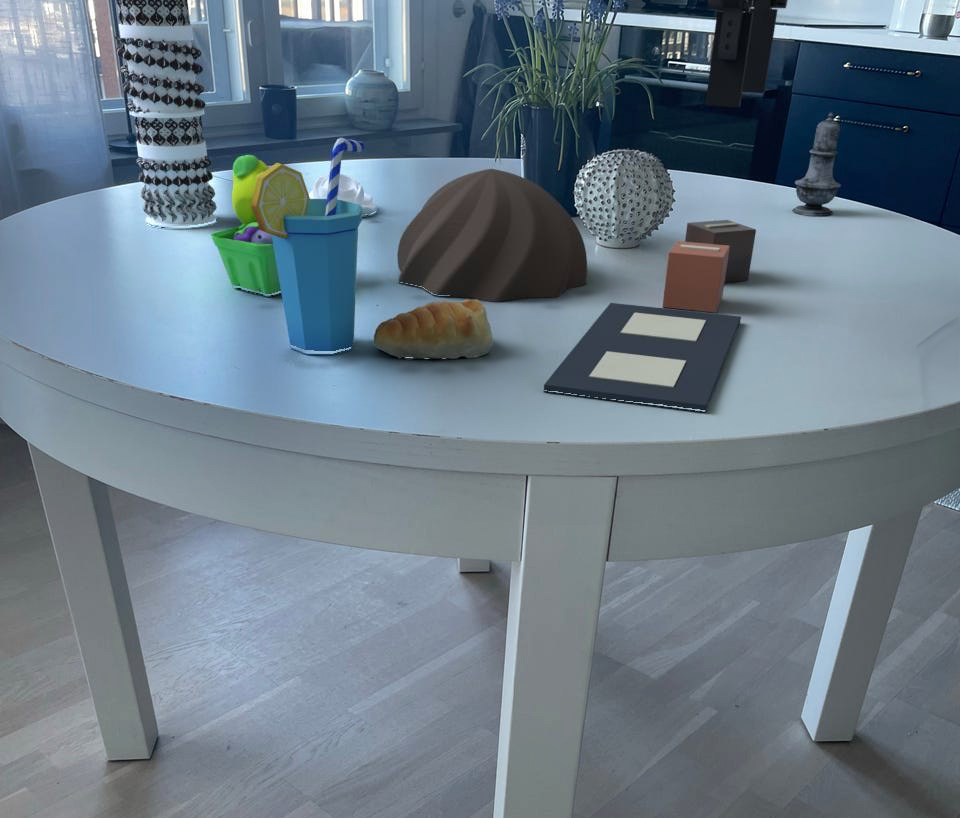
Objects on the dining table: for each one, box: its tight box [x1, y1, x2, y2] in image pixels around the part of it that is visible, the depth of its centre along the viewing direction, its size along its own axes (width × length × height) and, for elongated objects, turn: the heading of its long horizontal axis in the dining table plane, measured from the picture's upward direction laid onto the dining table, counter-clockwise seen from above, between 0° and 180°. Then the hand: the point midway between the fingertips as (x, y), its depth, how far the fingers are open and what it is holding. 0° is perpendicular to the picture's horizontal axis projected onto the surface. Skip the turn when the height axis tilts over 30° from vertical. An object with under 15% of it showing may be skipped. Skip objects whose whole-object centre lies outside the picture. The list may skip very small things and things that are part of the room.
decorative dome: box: [397, 168, 588, 303], centre depth 101 cm, size 19×20×10 cm
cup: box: [251, 137, 365, 356], centre depth 80 cm, size 14×8×15 cm, turn 158°
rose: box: [308, 173, 379, 218], centre depth 129 cm, size 10×4×10 cm
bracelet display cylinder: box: [114, 0, 218, 230], centre depth 116 cm, size 9×9×25 cm
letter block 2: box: [661, 240, 730, 314], centre depth 95 cm, size 5×5×5 cm
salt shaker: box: [791, 111, 842, 217], centre depth 133 cm, size 6×6×12 cm
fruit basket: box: [210, 154, 282, 298], centre depth 97 cm, size 11×9×11 cm
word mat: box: [543, 302, 742, 414], centre depth 83 cm, size 24×12×1 cm, turn 162°
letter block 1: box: [684, 219, 757, 284], centre depth 104 cm, size 5×5×5 cm
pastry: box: [373, 298, 494, 361], centre depth 82 cm, size 9×7×4 cm
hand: (736, 99), depth 88 cm, fingers open, 13 cm apart
